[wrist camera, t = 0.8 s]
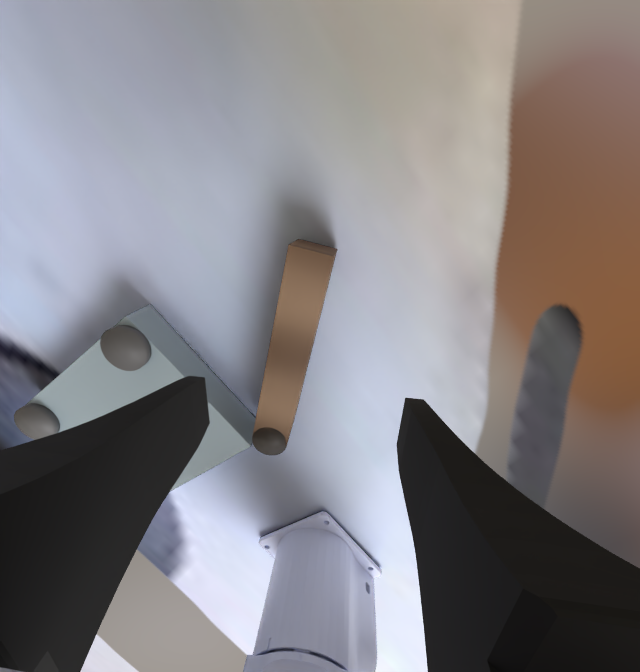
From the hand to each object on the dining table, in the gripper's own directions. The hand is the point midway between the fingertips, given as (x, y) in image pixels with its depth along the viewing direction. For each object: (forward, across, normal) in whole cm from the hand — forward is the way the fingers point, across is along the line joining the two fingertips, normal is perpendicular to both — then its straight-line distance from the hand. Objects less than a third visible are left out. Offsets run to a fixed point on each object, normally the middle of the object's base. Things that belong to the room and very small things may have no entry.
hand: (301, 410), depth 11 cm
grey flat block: (+10, +14, +9) cm, 20 cm away
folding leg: (+10, +2, +2) cm, 11 cm away
